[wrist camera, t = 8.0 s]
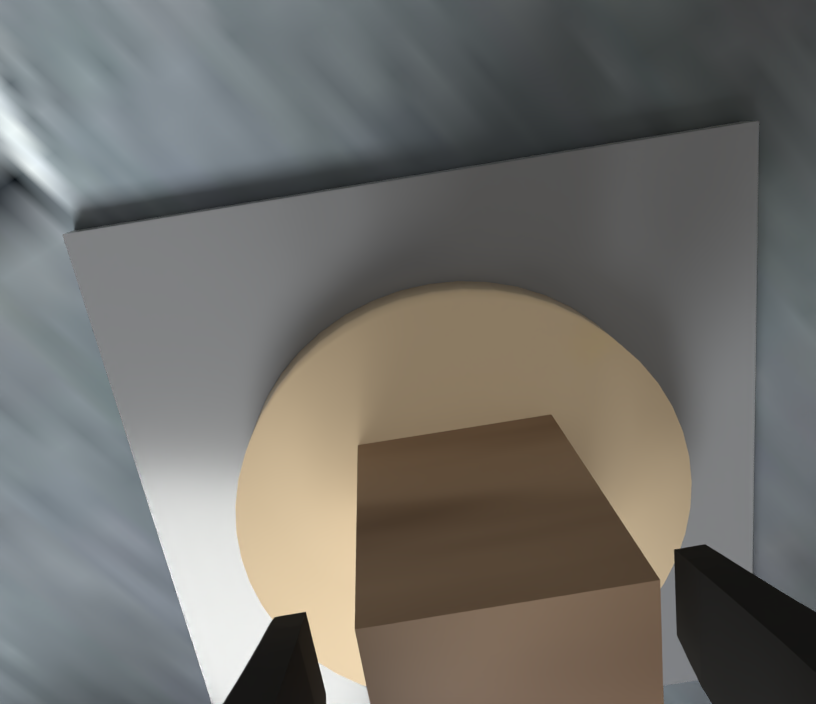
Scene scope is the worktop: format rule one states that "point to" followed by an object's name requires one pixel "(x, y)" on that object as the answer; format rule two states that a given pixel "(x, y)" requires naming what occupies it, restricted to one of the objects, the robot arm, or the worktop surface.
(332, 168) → the worktop surface
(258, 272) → the base
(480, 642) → the block
